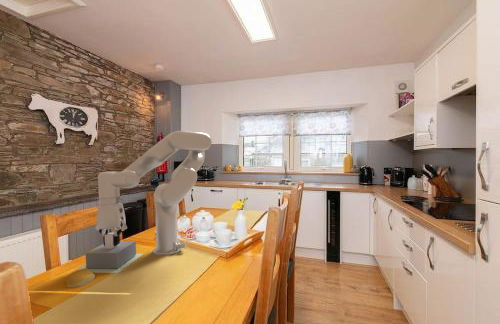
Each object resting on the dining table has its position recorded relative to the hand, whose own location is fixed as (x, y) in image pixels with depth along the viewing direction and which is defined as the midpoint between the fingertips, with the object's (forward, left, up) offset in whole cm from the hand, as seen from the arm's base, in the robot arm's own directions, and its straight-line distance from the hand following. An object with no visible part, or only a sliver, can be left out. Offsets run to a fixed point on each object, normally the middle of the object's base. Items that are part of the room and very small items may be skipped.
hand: (111, 244), depth 99 cm
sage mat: (0, 0, -8) cm, 8 cm away
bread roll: (+2, +15, -8) cm, 17 cm away
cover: (0, 0, -7) cm, 7 cm away
